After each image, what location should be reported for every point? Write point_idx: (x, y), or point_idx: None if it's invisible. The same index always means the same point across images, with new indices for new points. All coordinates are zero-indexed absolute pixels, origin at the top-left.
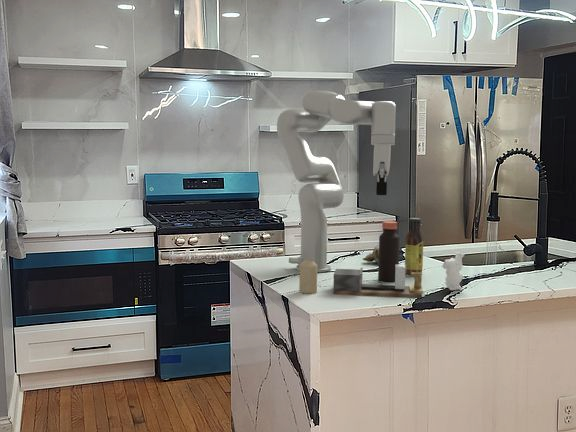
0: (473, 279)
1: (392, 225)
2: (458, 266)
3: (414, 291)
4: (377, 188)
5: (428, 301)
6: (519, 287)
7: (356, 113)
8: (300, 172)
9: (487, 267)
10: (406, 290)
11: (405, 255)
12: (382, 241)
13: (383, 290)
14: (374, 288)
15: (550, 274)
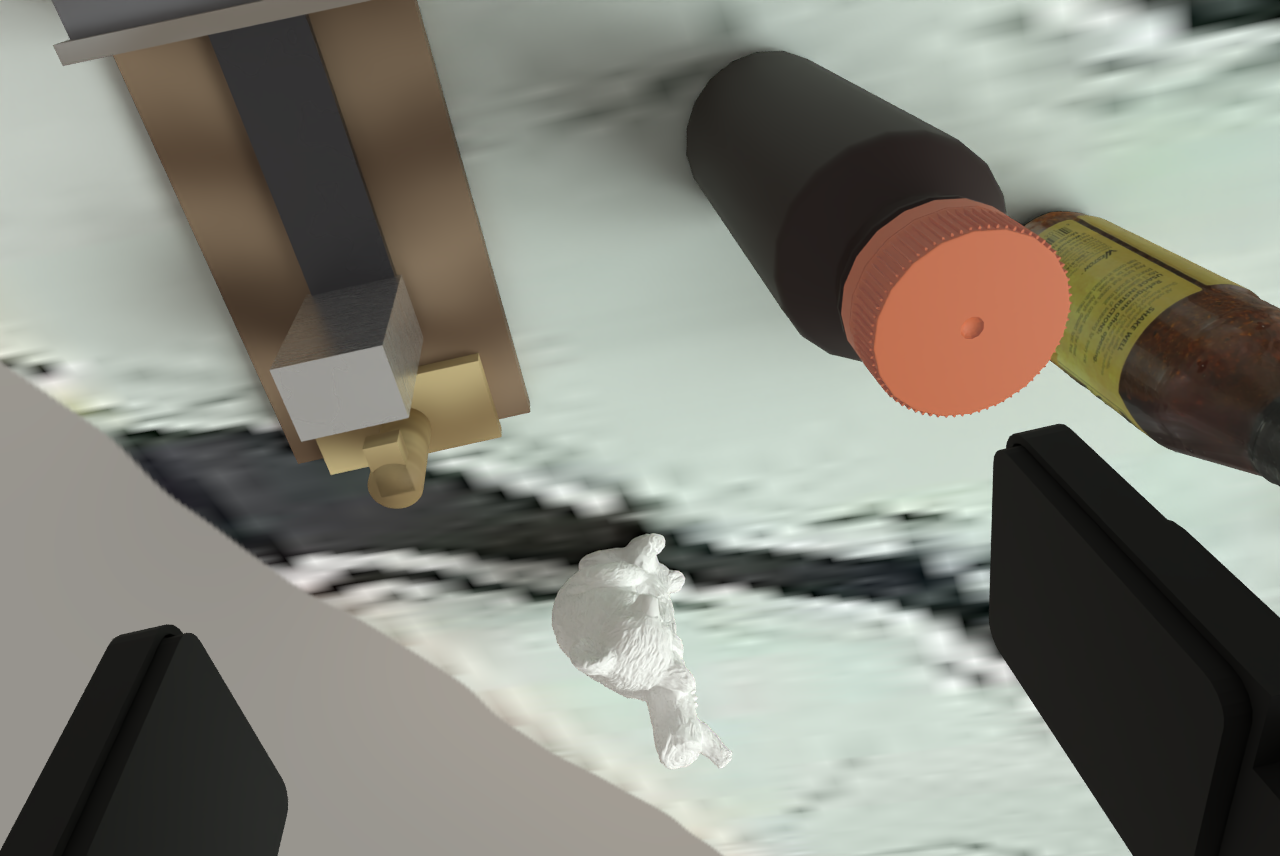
0: (927, 607)
1: (871, 365)
2: (616, 692)
3: None
4: (50, 805)
5: (234, 501)
6: (786, 789)
7: None
8: None
9: None
10: None
11: (1120, 258)
12: (787, 182)
13: (274, 208)
14: (252, 138)
15: (1112, 846)
